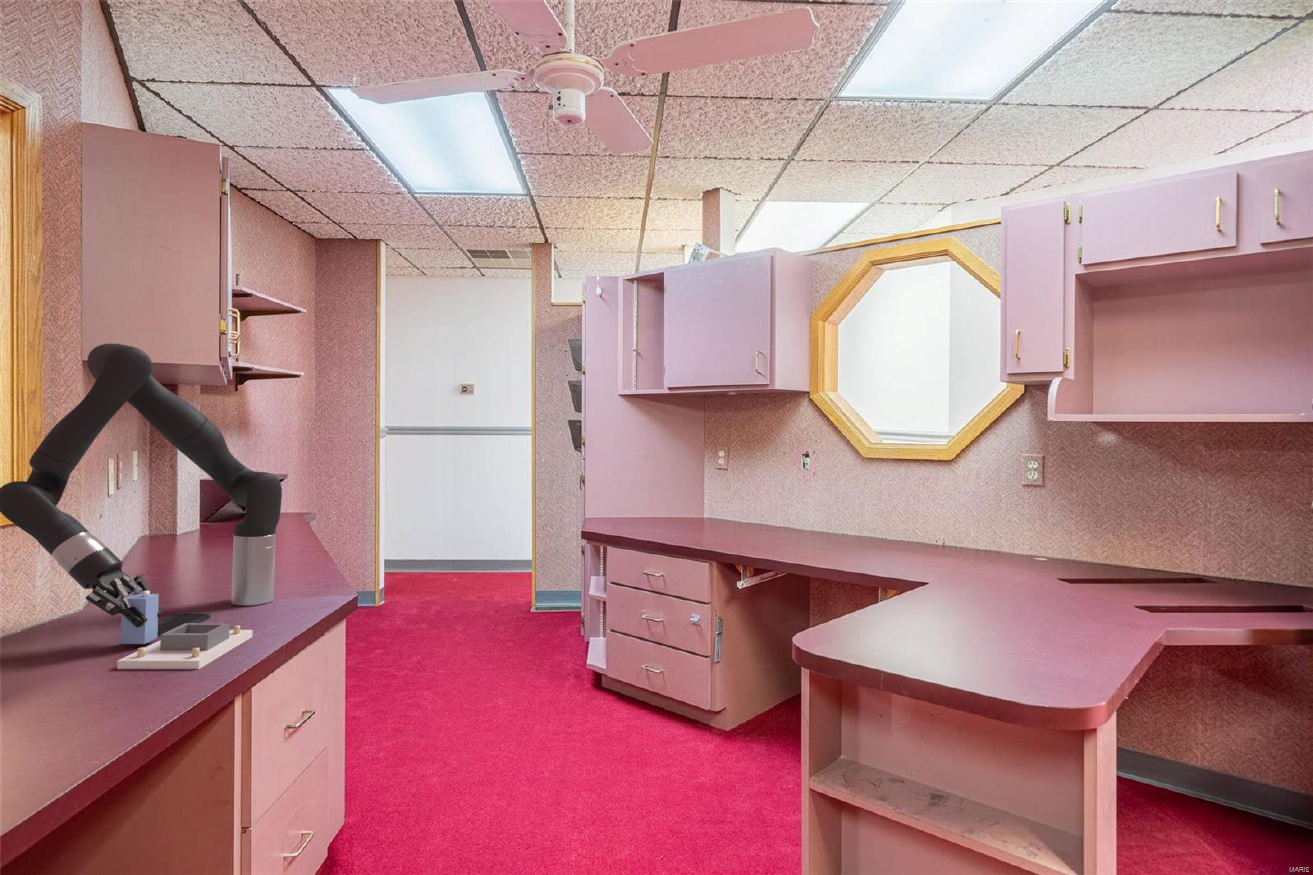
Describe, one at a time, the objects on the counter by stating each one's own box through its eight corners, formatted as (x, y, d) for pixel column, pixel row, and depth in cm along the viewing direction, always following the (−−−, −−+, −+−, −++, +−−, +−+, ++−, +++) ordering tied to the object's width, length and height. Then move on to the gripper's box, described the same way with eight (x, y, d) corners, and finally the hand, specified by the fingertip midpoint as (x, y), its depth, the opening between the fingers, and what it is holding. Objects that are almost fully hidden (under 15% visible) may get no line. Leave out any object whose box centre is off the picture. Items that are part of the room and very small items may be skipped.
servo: (133, 637, 139) (135, 588, 139) (157, 637, 139) (158, 589, 139) (120, 643, 135) (121, 593, 135) (144, 643, 135) (146, 593, 135)
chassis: (182, 636, 143) (183, 615, 143) (252, 636, 145) (253, 615, 145) (117, 668, 123) (118, 644, 123) (198, 669, 125) (199, 644, 125)
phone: (212, 613, 158) (174, 632, 144) (212, 618, 158) (174, 637, 144) (176, 613, 158) (134, 632, 143) (175, 618, 158) (134, 637, 143)
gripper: (75, 553, 129) (141, 617, 130) (126, 541, 143) (185, 599, 144) (44, 580, 128) (111, 645, 130) (98, 566, 143) (158, 624, 144)
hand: (150, 620), depth 137 cm, fingers closed on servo, 4 cm apart
